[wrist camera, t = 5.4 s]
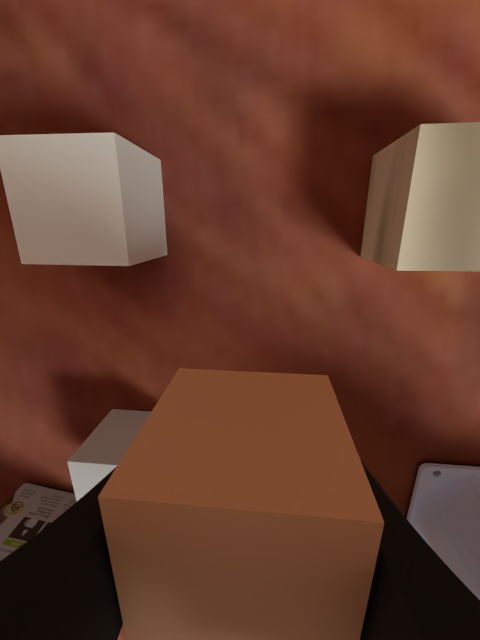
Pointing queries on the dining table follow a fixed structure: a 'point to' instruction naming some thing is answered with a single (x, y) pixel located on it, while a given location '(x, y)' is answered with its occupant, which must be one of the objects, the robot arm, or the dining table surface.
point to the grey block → (104, 448)
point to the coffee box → (30, 514)
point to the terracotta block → (242, 513)
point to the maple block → (426, 200)
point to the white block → (83, 199)
